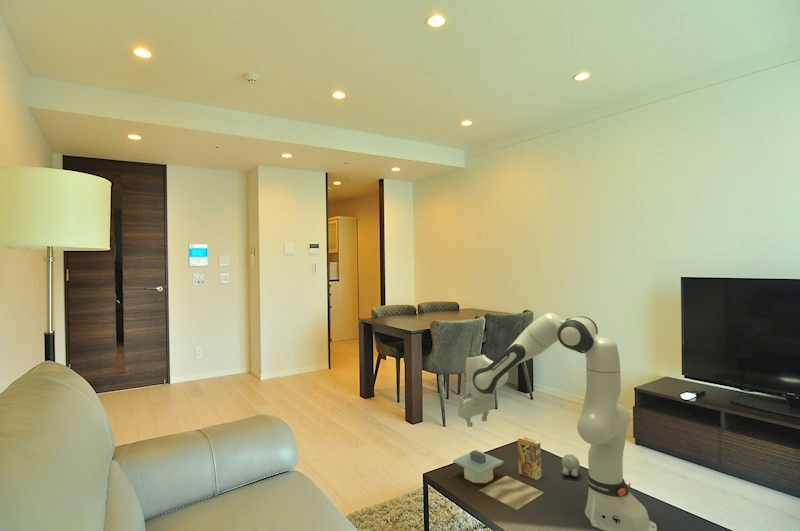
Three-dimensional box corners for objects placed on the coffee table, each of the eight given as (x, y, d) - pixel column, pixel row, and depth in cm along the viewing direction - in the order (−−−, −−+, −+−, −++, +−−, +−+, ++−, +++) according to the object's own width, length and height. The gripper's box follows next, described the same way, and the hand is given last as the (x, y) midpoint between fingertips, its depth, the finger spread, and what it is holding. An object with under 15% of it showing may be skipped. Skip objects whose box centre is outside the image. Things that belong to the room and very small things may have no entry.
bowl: (498, 477, 180) (498, 463, 180) (480, 487, 173) (479, 472, 173) (476, 467, 190) (476, 454, 190) (458, 476, 182) (458, 462, 182)
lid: (503, 463, 180) (503, 454, 180) (480, 474, 171) (479, 465, 171) (476, 452, 192) (476, 443, 192) (453, 462, 182) (453, 452, 182)
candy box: (541, 477, 179) (540, 441, 179) (536, 481, 176) (535, 444, 176) (523, 470, 186) (522, 435, 186) (517, 474, 183) (517, 438, 183)
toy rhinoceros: (580, 477, 184) (581, 456, 187) (578, 478, 174) (579, 456, 177) (563, 473, 188) (564, 452, 190) (560, 474, 178) (560, 452, 181)
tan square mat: (544, 493, 167) (544, 492, 167) (516, 511, 155) (516, 509, 155) (506, 476, 181) (506, 475, 181) (479, 491, 169) (479, 490, 169)
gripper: (465, 398, 172) (466, 432, 172) (497, 388, 185) (497, 419, 185) (454, 394, 177) (455, 427, 177) (485, 385, 190) (486, 416, 190)
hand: (477, 423), depth 181 cm, fingers open, 8 cm apart
